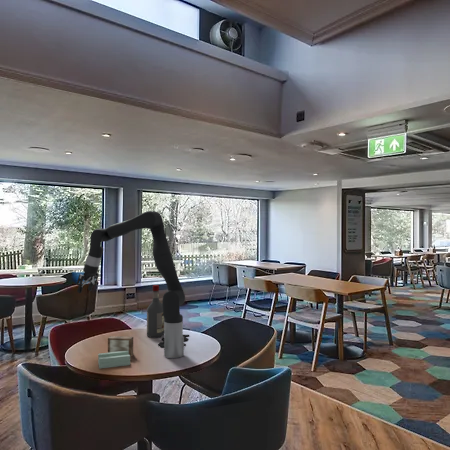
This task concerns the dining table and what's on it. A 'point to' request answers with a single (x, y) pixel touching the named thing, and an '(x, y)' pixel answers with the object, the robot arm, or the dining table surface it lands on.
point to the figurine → (163, 340)
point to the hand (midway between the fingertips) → (84, 291)
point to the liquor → (155, 316)
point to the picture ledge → (113, 359)
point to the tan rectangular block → (120, 344)
